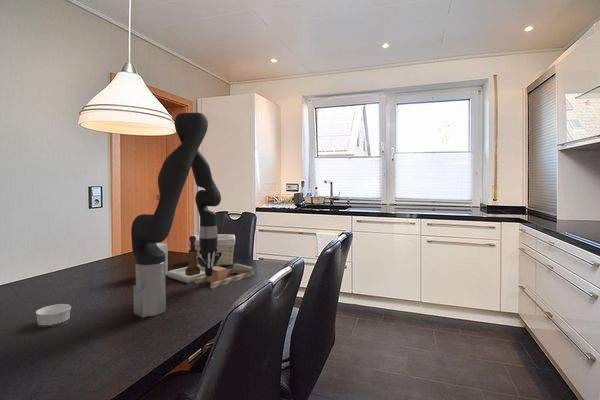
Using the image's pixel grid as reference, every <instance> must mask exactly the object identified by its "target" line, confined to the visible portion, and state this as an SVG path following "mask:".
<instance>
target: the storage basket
mask: <svg viewBox="0 0 600 400" xmlns="http://www.w3.org/2000/svg"><path fill="white" fill-rule="evenodd" d="M191 236H195V237H196V240H195V242H194V245H195V249H194V250H197V256H198V255H199V252H200V246H199V234H192V235H191ZM217 238H218V246H217V251H218V252H220V253H222V255H221V256H220V258H219V260H218V262H217V264H216V265H214V266H213V267H215V266H219V267H220V266H228V265H229V266H231V265H232V266H233V264H234V262H233V259H234V250H235V245H236V235H235V234H234V233H233V234H231V233H229V234H227V233H226V234H225V233H224V234H223V233H222V234H218V233H217ZM190 245H191V242H190V240H189V239H188V246H190ZM189 250H191V248H190V247H189ZM202 260H203V258H202ZM197 265H199V263H198V262H197Z"/></svg>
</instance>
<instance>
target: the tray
mask: <svg viewBox="0 0 600 400" xmlns="http://www.w3.org/2000/svg"><path fill="white" fill-rule="evenodd" d="M197 267H199V268H200V274H197V275H193V276H188V275H186V274H185V270H186V269H187V268H188V266H185V267H180V268H177V269H171V270H168V275H167V277H168V278H170V279H171V278H172V279H174V280H176V281H177V280H178V281H180V282H184V283H186V284H190V283H193V282H194V283H195V279H196V278H200V277H203V276H206V275H205V267H201V266H200V265H197Z"/></svg>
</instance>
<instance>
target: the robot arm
mask: <svg viewBox="0 0 600 400" xmlns="http://www.w3.org/2000/svg"><path fill="white" fill-rule="evenodd" d="M208 126H209V122H208V118H207V116H206V115H205V114H204V113H202V112H181V113H178V114H177V115H176V116H175V118H174V128H175V132H176V134H177V136H178V139H179V141H180V143H181V144H180V145H178V146H177V148H175V149H174V150H173V151H172V152H171V153H170V154H169V155H168V156H166V158H165V160H164V161H163V163H162V166H161V168H160V171H159V173H158V175H157V186H158V194H159V197H158V199H159V200H158V203H157V206H156V209H155V211H154V213H153V214H148V213H142V214H138V215H137V216H136V217H135V218H134V219H133V221H132V224H131V228H130V233H131V234H130V235H131V236H130V237H131V248H132V254H133V258H134V259H135V284H133V287H132V290H133V297H132V299H133V314H134V315H136V316H138V317H141V318H142V319H143V318H146V317H147V318H148V317H154V316H155V317H156V316H158V315H159V316H160V315H161V314H163V313H165V312H166V310H167V292H166V291H167V288H166V287H167V286H166V285H167V283H166V276H167V275H166V266H165V253H164V252H163V251H162V250H161V249H159V247H158V246H157V244H156V243H162V242H164V241H166V239H167V238H168V237H169V234H170V232H171V229H172V225H173V222H174V219H175V213H176V210H177V207H178V203H179V200H180V197H181V194H182V191H183V188H184V187H185V184H186V182H187V179H188V175H189V173H190V171H192V175H193V178H194V183H195V185H196V186H197V187H199V188H201V189H200V190H198V191H197V192H196V193H195V197H194V199H195V205H196V207H197V210H198V215H199V234H198V235H199V246H200V252H199V255H198V256H196V257H195V260H196V261H197V262H198V263H199V265H200V266H201V267H205V275H206V276H208V277H209V276H212V267H215V266H214V265H216V264H217V262H218V260H219V258H220V256H221V255H222V253H220V252H218V251H217V246H218V238H217V234H218V222H217V221H218V219H217V218H218V215H217V213H216V212H215V211H211V210H209V208H208V207H217V206H219V205H220V203H221V201H222V195H221V193H220V190H219V188H218V186H217V185H216V183H215V181H214V179H213V175H212V172H211V168H210V164H209V162H208V160H207V159H206V157H204V154H202V153H201V151H200V149H199V148H200V146H201V144H202V143H203V140H204V139H205V136H206V134H207V132H208V128H209V127H208ZM202 258H203V260H202Z"/></svg>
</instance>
